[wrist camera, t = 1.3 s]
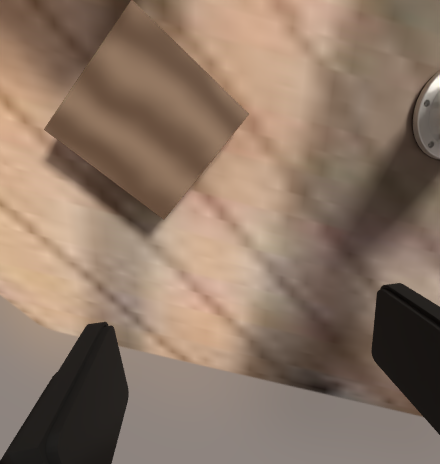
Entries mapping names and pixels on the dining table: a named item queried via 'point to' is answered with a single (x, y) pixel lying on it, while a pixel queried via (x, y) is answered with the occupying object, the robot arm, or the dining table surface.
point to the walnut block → (146, 113)
